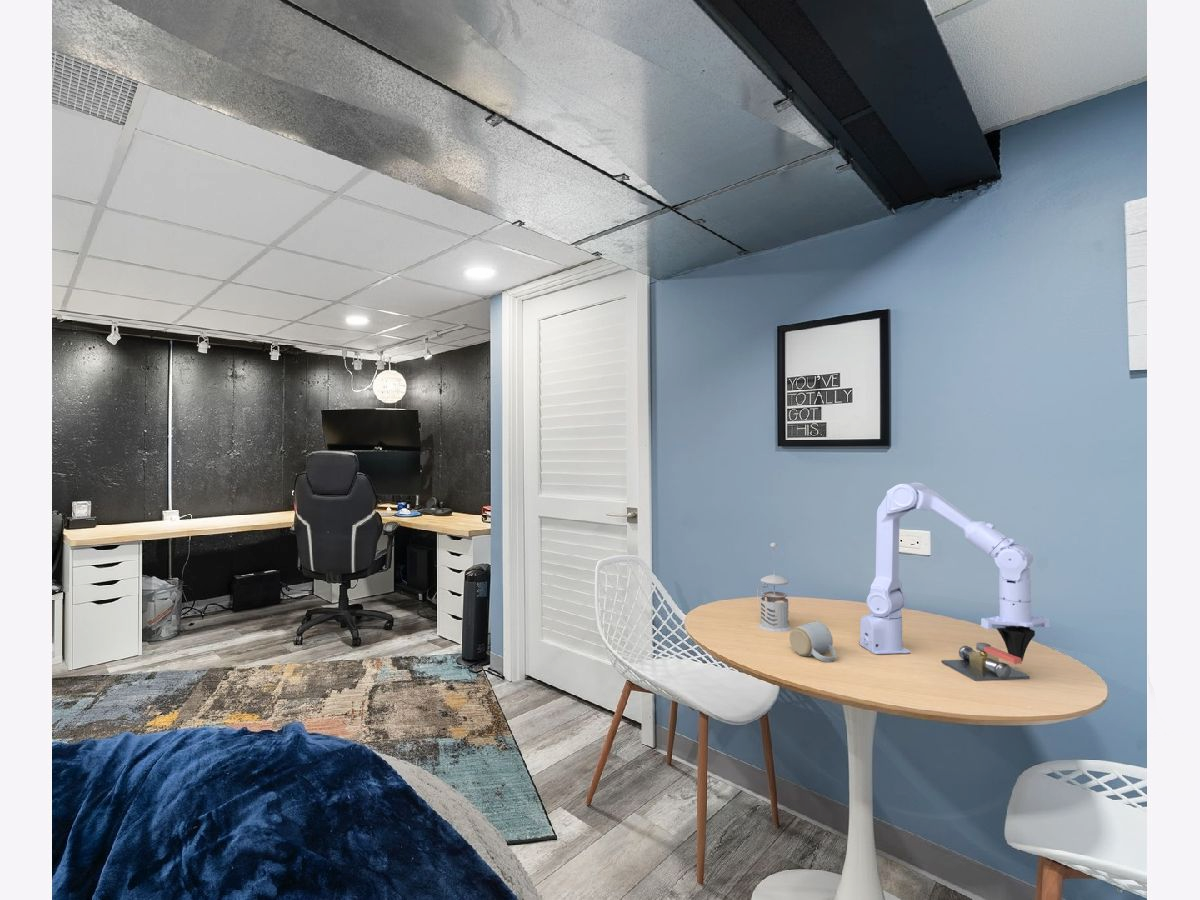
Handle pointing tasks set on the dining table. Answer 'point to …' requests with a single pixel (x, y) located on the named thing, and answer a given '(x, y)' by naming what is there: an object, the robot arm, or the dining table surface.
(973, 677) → the valve assembly
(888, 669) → the dining table surface
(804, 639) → the ceramic mug
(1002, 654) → the valve lever
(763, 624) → the french press
